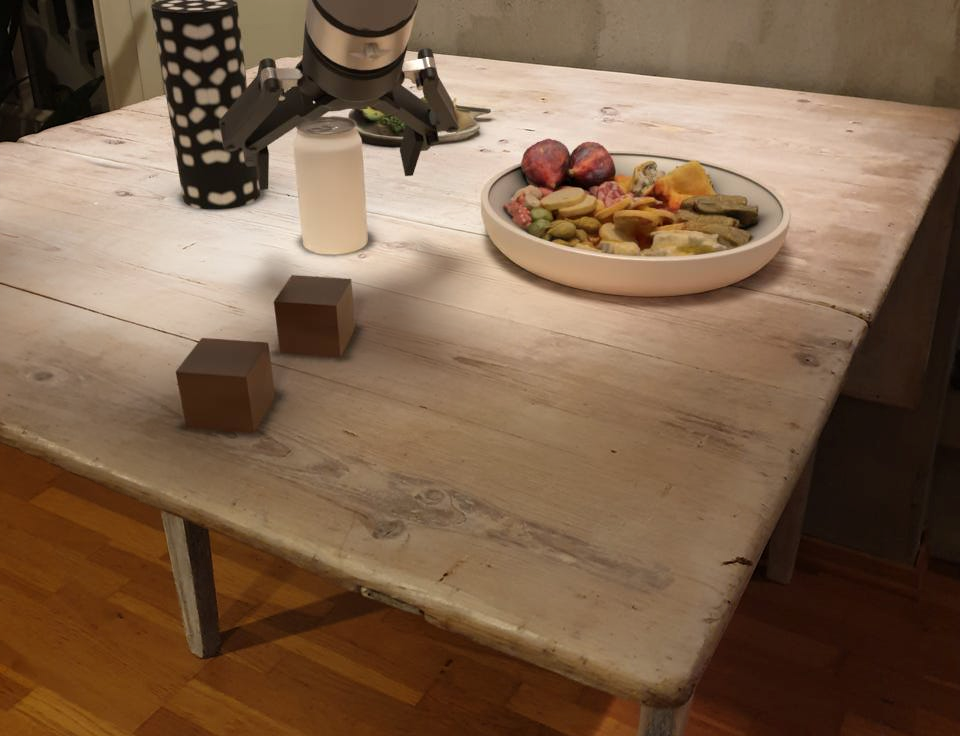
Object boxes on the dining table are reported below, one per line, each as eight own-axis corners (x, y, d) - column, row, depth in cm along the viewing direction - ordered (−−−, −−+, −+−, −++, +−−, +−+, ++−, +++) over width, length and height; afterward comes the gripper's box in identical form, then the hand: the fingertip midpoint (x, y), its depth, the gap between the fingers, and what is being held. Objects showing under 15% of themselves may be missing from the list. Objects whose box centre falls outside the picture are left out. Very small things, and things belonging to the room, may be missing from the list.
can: (381, 245, 97) (375, 124, 90) (330, 264, 93) (319, 138, 86) (340, 228, 101) (332, 110, 94) (290, 245, 97) (277, 123, 90)
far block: (297, 329, 82) (291, 274, 79) (355, 333, 81) (351, 278, 79) (280, 357, 78) (273, 301, 75) (340, 362, 77) (336, 305, 75)
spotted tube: (225, 218, 103) (196, 15, 91) (167, 203, 106) (132, 6, 95) (275, 195, 109) (254, 2, 97) (219, 182, 112) (193, -6, 101)
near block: (211, 396, 73) (201, 337, 70) (275, 401, 72) (268, 342, 70) (186, 432, 69) (175, 371, 66) (254, 438, 68) (246, 376, 65)
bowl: (838, 248, 98) (856, 172, 93) (657, 345, 80) (669, 257, 76) (608, 175, 115) (614, 108, 111) (419, 242, 98) (417, 165, 93)
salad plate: (477, 107, 139) (477, 74, 137) (508, 144, 125) (509, 107, 122) (343, 114, 136) (340, 80, 133) (359, 153, 121) (357, 116, 119)
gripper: (188, 87, 66) (204, 220, 86) (531, 64, 72) (471, 193, 93) (171, -11, 67) (191, 143, 87) (509, -25, 74) (455, 122, 94)
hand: (335, 169), depth 90 cm, fingers open, 13 cm apart
